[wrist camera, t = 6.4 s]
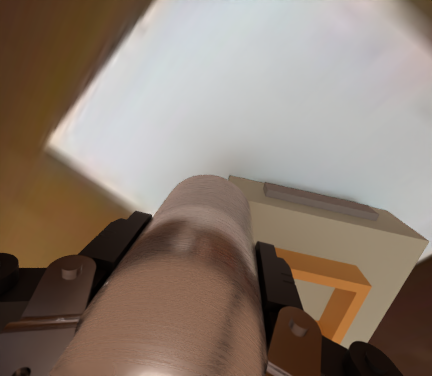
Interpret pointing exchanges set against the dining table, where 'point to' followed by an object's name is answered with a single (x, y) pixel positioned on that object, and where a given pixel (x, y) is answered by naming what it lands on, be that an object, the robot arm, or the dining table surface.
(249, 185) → the slab with orange tray
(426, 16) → the dining table surface
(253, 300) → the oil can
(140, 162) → the dining table surface
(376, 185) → the dining table surface
